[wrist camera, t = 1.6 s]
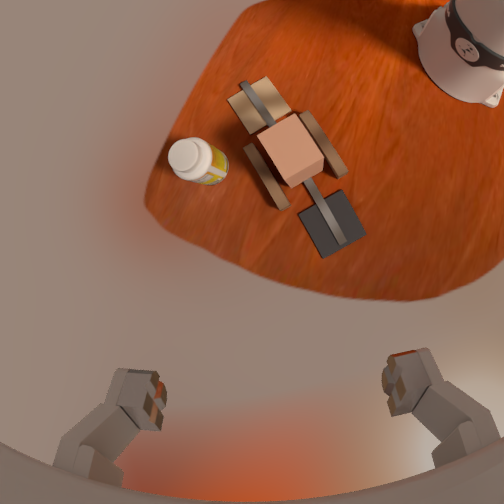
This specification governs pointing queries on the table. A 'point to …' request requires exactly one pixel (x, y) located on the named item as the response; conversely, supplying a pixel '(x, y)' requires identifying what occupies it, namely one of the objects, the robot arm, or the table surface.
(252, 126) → the mat
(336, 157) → the track
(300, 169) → the block
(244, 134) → the table surface
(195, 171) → the supplement bottle
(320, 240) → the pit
